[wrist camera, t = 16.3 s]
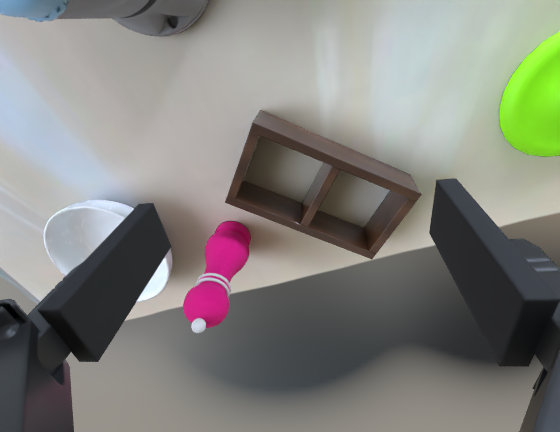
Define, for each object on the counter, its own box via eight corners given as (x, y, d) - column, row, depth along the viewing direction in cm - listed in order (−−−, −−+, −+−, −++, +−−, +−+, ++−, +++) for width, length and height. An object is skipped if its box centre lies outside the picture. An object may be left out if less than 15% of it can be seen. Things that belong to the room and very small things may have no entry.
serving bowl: (129, 289, 65) (111, 315, 59) (48, 215, 56) (17, 237, 50) (205, 256, 58) (193, 282, 52) (125, 165, 49) (100, 184, 43)
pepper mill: (253, 253, 56) (226, 353, 40) (214, 248, 57) (171, 345, 40) (254, 220, 52) (224, 316, 36) (212, 215, 53) (163, 308, 36)
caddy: (366, 236, 52) (372, 259, 47) (234, 183, 49) (225, 202, 44) (410, 174, 45) (422, 194, 40) (260, 109, 42) (252, 122, 37)
